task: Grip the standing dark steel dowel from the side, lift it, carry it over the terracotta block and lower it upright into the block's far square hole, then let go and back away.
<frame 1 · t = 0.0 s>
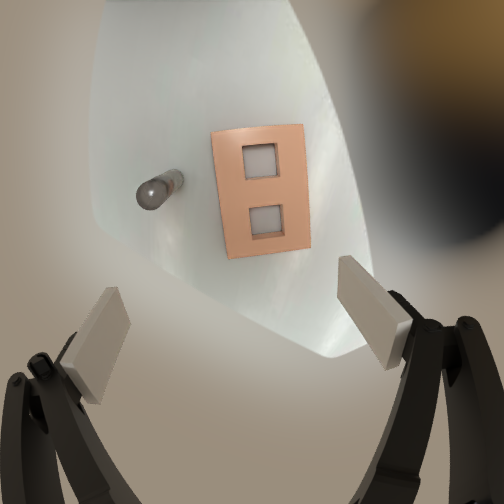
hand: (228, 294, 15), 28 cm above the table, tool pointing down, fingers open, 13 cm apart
steel dowel: (173, 179, 39), on the table
terracotta block: (262, 189, 41), on the table
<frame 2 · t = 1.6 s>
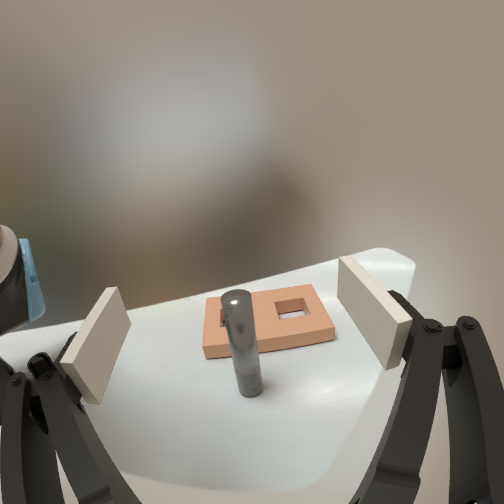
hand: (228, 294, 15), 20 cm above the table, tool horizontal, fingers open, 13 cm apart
steel dowel: (250, 388, 32), on the table
terracotta block: (265, 324, 44), on the table
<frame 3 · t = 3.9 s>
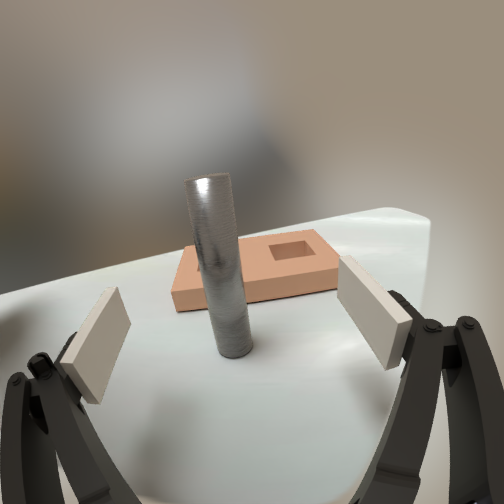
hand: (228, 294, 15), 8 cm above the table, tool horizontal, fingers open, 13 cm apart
steel dowel: (234, 345, 23), on the table
terracotta block: (257, 272, 35), on the table
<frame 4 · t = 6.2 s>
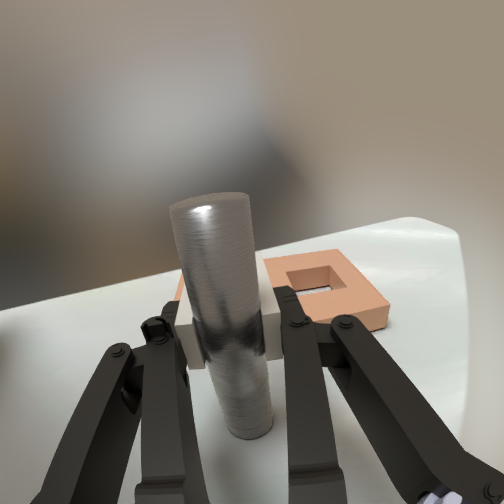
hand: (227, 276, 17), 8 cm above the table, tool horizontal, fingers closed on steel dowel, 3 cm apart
steel dowel: (249, 420, 15), on the table, touching gripper
terracotta block: (272, 307, 28), on the table
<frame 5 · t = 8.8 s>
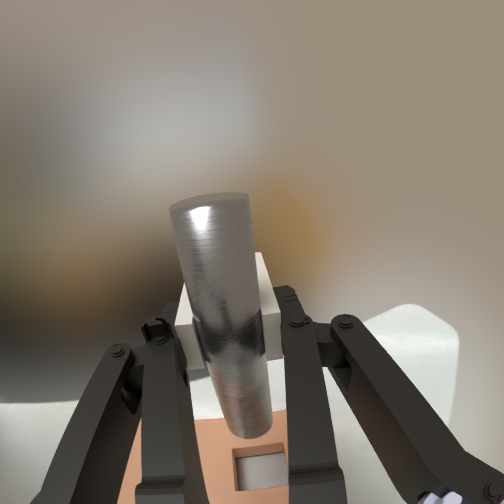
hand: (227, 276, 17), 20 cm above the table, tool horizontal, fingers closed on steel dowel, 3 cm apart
steel dowel: (249, 420, 15), point 12 cm above the table, touching gripper
terracotta block: (217, 478, 20), on the table
when the fingers open (9 cm above the table, at t = 11.4 s): steel dowel stays where it is, resting in terracotta block.
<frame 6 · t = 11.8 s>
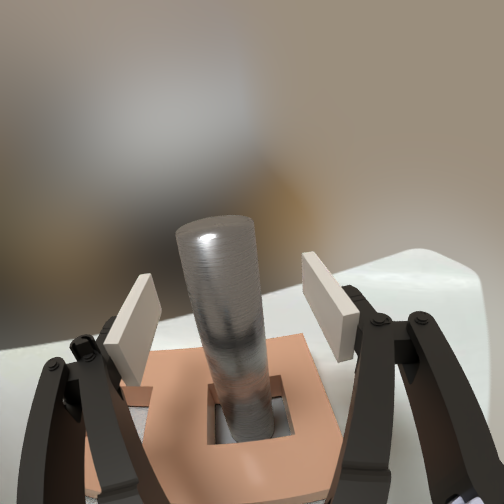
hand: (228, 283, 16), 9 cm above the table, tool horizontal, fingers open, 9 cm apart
steel dowel: (251, 427, 16), resting in terracotta block
terracotta block: (187, 431, 16), on the table
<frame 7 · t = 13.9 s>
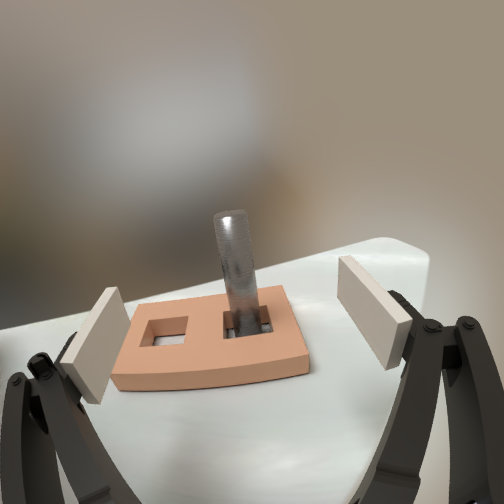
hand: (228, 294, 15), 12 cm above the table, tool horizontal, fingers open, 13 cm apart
steel dowel: (249, 339, 29), resting in terracotta block
terracotta block: (209, 344, 29), on the table
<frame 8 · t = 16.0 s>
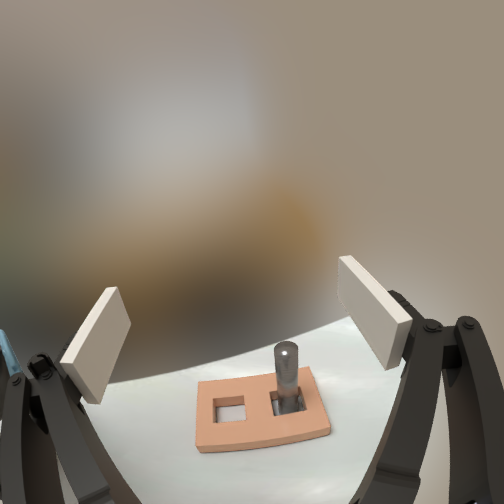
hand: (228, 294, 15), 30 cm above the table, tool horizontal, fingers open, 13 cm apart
steel dowel: (288, 409, 38), resting in terracotta block
terracotta block: (259, 413, 38), on the table
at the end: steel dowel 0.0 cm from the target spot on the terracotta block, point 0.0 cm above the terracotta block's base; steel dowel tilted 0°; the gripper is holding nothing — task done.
